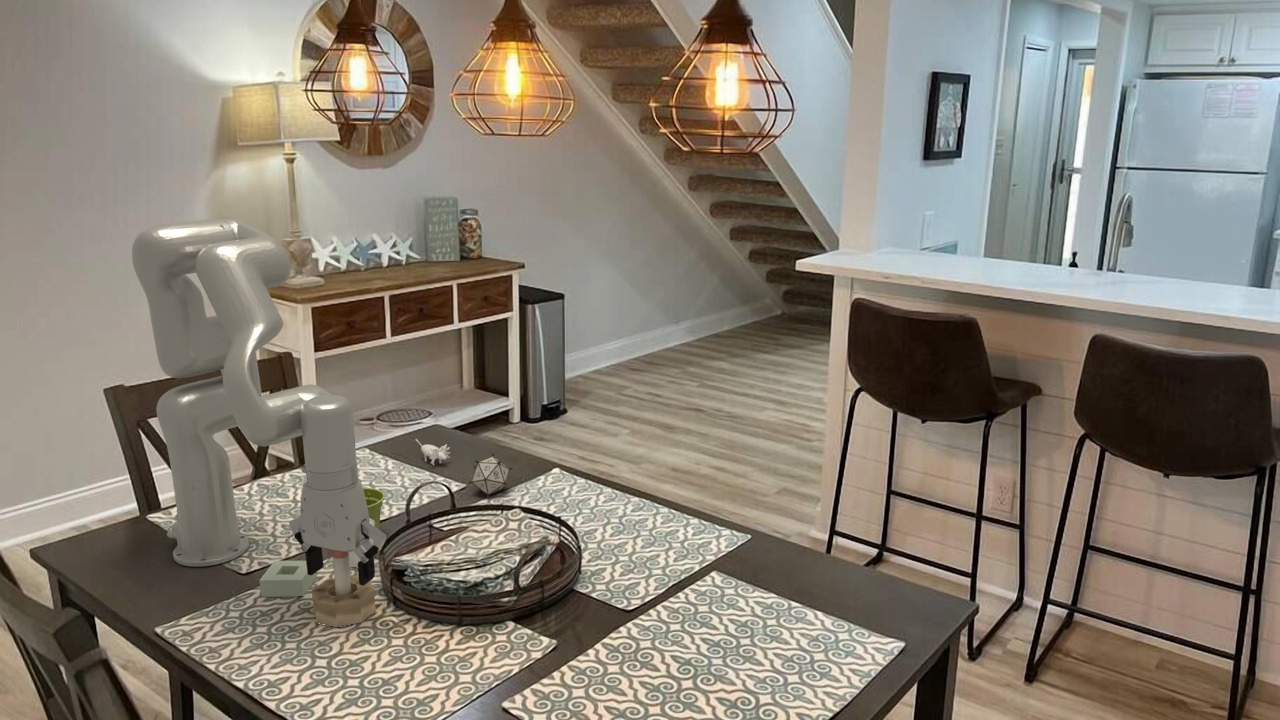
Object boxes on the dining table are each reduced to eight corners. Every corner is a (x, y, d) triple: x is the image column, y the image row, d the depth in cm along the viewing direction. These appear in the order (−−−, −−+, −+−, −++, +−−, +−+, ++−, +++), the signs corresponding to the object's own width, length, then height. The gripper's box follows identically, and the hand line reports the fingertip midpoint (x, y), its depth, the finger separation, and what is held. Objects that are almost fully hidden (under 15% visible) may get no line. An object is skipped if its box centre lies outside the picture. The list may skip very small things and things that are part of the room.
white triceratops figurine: (454, 465, 216) (453, 445, 215) (434, 471, 213) (432, 451, 212) (426, 451, 225) (425, 432, 224) (406, 457, 221) (405, 437, 220)
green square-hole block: (261, 596, 159) (259, 580, 158) (276, 576, 166) (274, 560, 165) (303, 596, 159) (301, 580, 158) (317, 576, 166) (315, 560, 165)
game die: (490, 506, 204) (495, 460, 207) (517, 501, 198) (522, 454, 202) (457, 496, 197) (463, 449, 201) (484, 491, 192) (490, 443, 196)
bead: (303, 620, 151) (300, 598, 150) (338, 594, 160) (336, 572, 159) (351, 631, 148) (349, 607, 147) (385, 603, 157) (383, 581, 156)
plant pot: (396, 531, 183) (393, 489, 181) (374, 554, 174) (371, 509, 172) (350, 528, 184) (346, 486, 182) (326, 550, 175) (322, 506, 173)
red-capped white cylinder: (334, 614, 153) (328, 545, 150) (343, 607, 155) (338, 539, 152) (346, 617, 152) (341, 547, 149) (355, 610, 155) (351, 541, 152)
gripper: (269, 477, 147) (280, 578, 152) (365, 492, 142) (373, 596, 146) (301, 460, 154) (311, 557, 159) (394, 474, 149) (401, 574, 153)
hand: (341, 576), depth 152 cm, fingers open, 9 cm apart
